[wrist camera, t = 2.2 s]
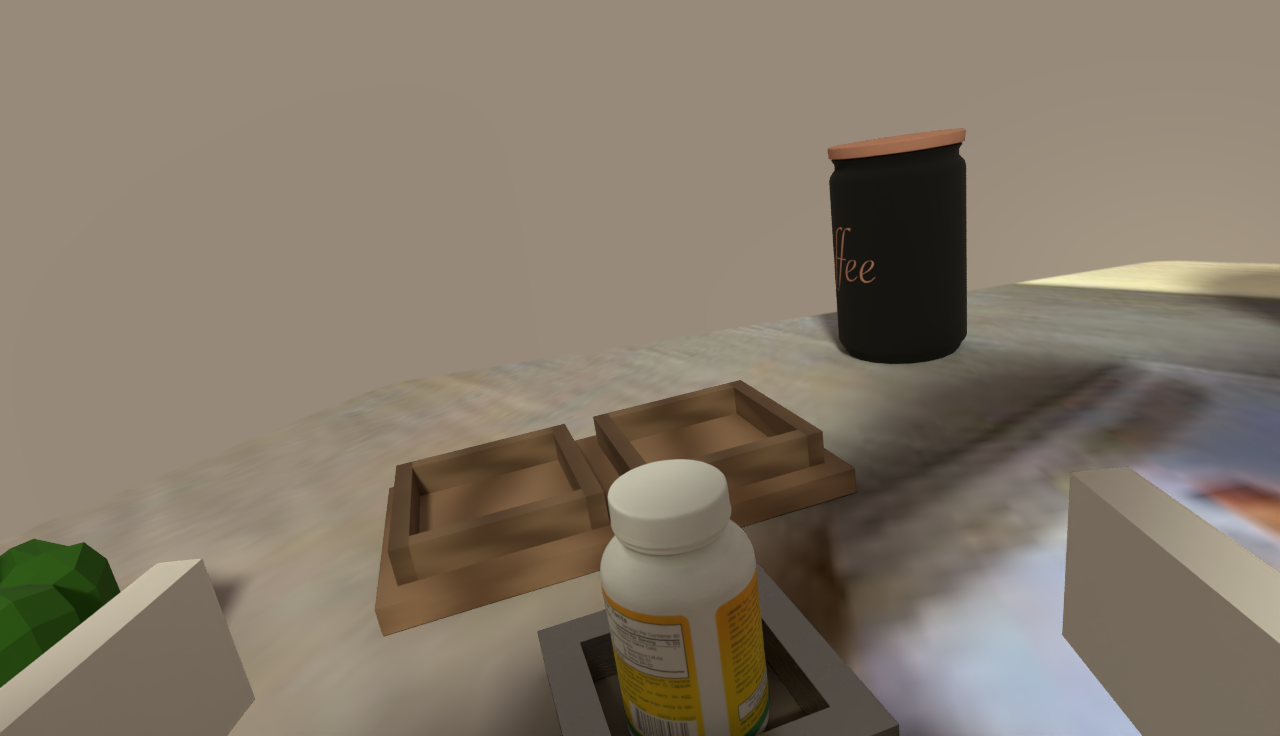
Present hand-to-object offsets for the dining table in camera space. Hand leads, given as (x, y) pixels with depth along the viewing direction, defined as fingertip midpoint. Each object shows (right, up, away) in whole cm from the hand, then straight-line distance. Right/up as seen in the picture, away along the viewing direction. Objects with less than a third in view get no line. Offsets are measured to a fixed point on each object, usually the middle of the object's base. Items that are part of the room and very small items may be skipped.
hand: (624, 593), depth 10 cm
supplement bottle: (+2, -10, +15) cm, 18 cm away
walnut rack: (-2, -5, +32) cm, 32 cm away
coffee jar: (+24, +5, +51) cm, 57 cm away
